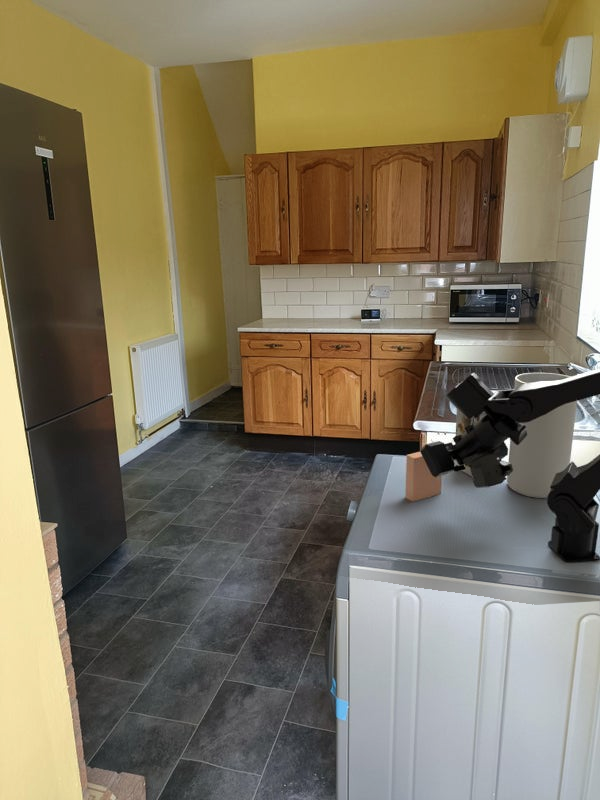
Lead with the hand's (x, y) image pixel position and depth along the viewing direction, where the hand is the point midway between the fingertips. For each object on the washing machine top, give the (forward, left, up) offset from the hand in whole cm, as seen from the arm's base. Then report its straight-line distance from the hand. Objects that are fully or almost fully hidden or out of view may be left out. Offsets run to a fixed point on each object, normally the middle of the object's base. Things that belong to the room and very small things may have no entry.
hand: (443, 469), depth 118 cm
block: (+2, -6, -8) cm, 10 cm away
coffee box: (-14, -18, -9) cm, 24 cm away
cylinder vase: (-24, -7, -8) cm, 26 cm away
